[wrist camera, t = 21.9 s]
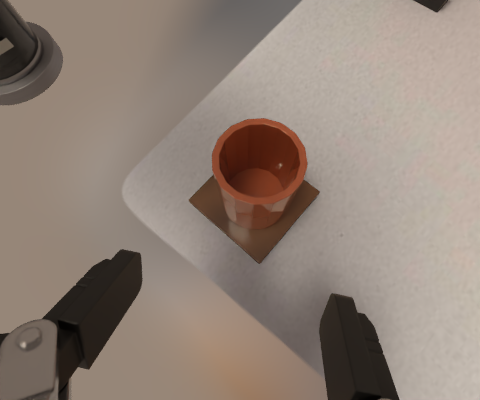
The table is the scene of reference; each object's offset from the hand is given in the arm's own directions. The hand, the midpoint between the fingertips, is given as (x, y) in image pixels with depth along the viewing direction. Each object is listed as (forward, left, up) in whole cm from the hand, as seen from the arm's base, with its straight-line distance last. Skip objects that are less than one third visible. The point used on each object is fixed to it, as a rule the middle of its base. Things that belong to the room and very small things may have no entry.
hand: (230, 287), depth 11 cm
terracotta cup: (-4, +7, -13) cm, 15 cm away
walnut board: (-4, +7, -13) cm, 16 cm away
